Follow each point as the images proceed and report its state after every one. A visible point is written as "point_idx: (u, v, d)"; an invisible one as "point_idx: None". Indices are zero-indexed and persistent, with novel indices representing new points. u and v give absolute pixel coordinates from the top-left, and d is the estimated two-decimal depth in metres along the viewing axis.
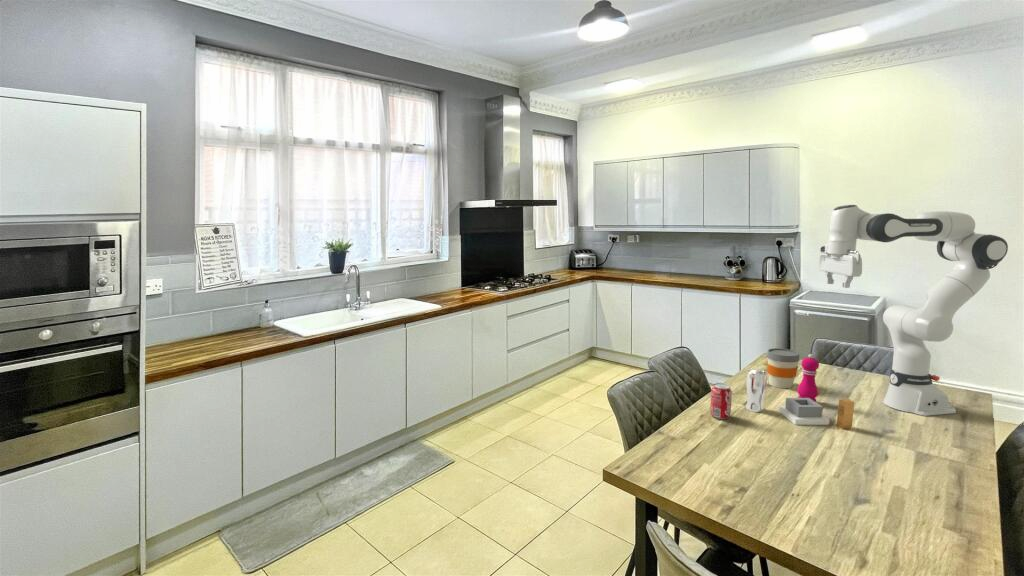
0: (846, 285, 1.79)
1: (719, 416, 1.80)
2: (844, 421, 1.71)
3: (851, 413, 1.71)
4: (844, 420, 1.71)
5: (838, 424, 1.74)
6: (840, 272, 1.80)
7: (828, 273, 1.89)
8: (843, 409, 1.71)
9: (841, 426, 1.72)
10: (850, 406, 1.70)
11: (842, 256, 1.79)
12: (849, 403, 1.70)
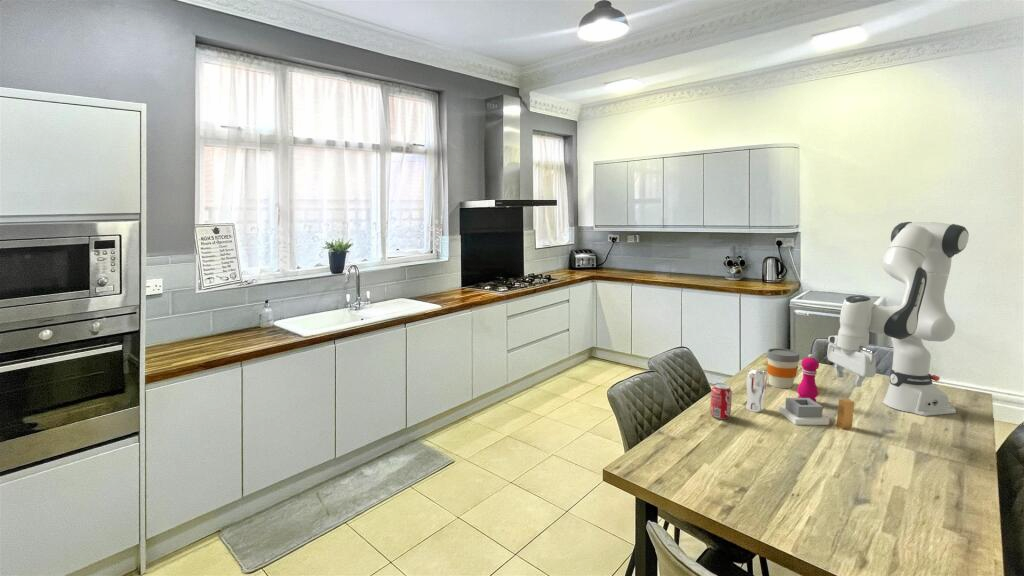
0: (858, 384, 1.65)
1: (719, 416, 1.80)
2: (844, 421, 1.71)
3: (851, 413, 1.71)
4: (844, 420, 1.71)
5: (838, 424, 1.74)
6: (851, 369, 1.66)
7: (838, 365, 1.75)
8: (843, 409, 1.71)
9: (841, 426, 1.72)
10: (850, 406, 1.70)
11: (854, 352, 1.65)
12: (849, 403, 1.70)
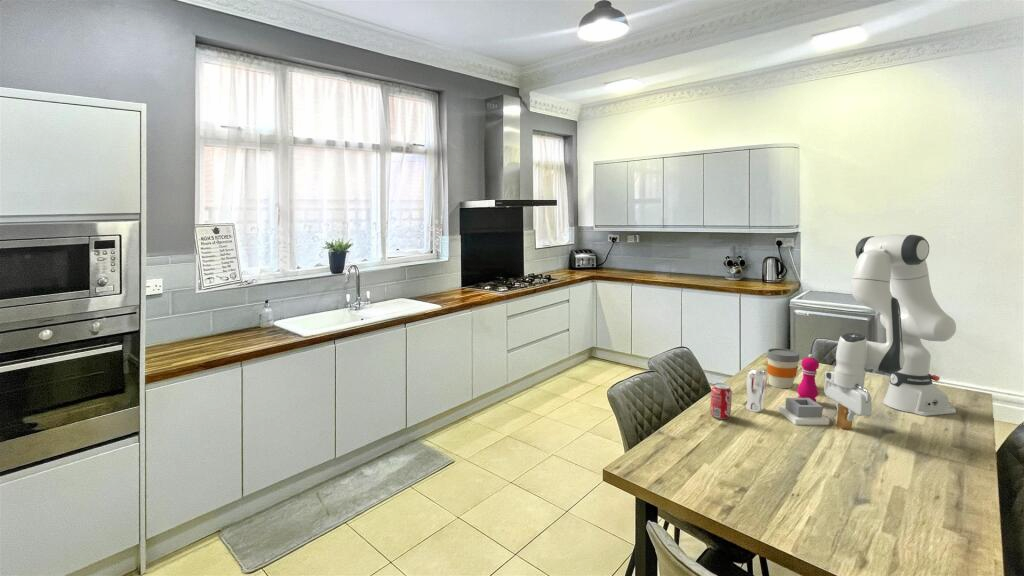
0: (849, 418, 1.70)
1: (719, 416, 1.80)
2: (844, 421, 1.71)
3: None
4: (844, 420, 1.71)
5: (838, 424, 1.74)
6: (848, 406, 1.68)
7: None
8: (843, 409, 1.71)
9: (841, 426, 1.72)
10: None
11: (850, 390, 1.67)
12: None
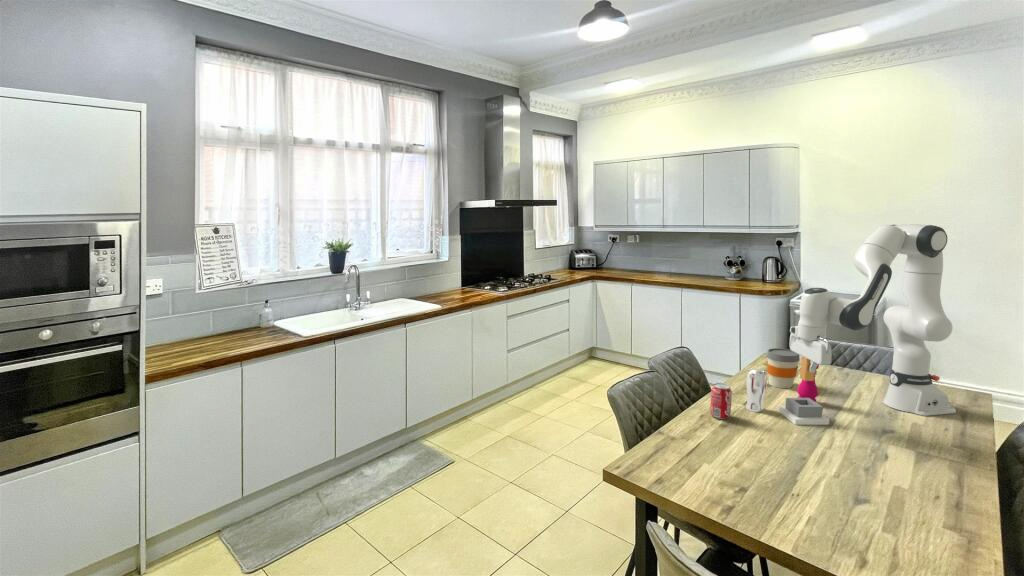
0: (811, 370, 1.75)
1: (719, 416, 1.80)
2: (806, 373, 1.77)
3: None
4: (806, 372, 1.77)
5: (801, 376, 1.79)
6: (810, 358, 1.74)
7: None
8: (806, 361, 1.76)
9: (804, 378, 1.77)
10: None
11: (812, 342, 1.73)
12: None
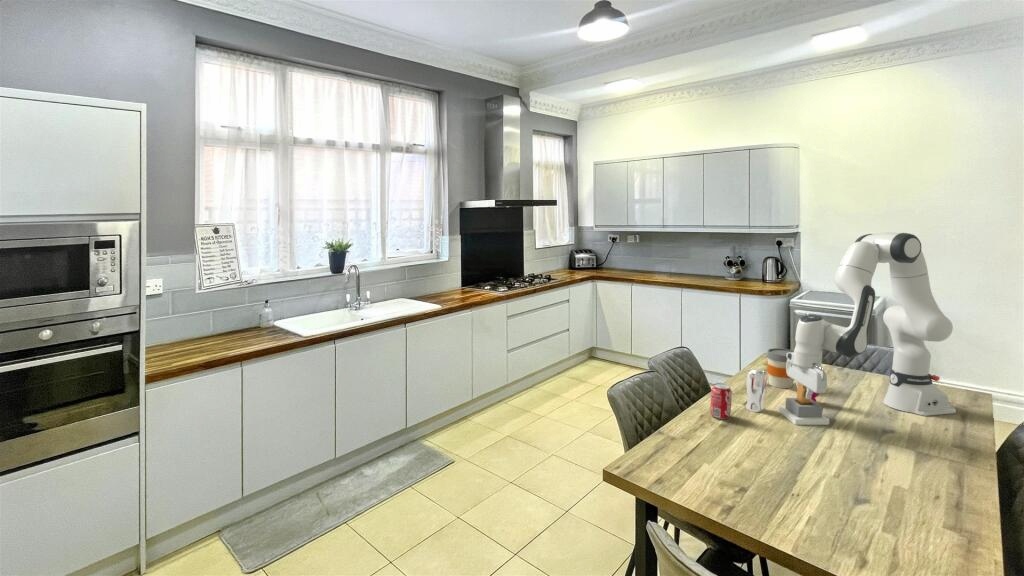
0: (808, 396, 1.77)
1: (719, 416, 1.80)
2: (803, 399, 1.79)
3: None
4: (803, 398, 1.79)
5: (797, 402, 1.81)
6: (806, 385, 1.76)
7: None
8: (802, 388, 1.78)
9: (800, 404, 1.80)
10: None
11: (807, 369, 1.75)
12: None
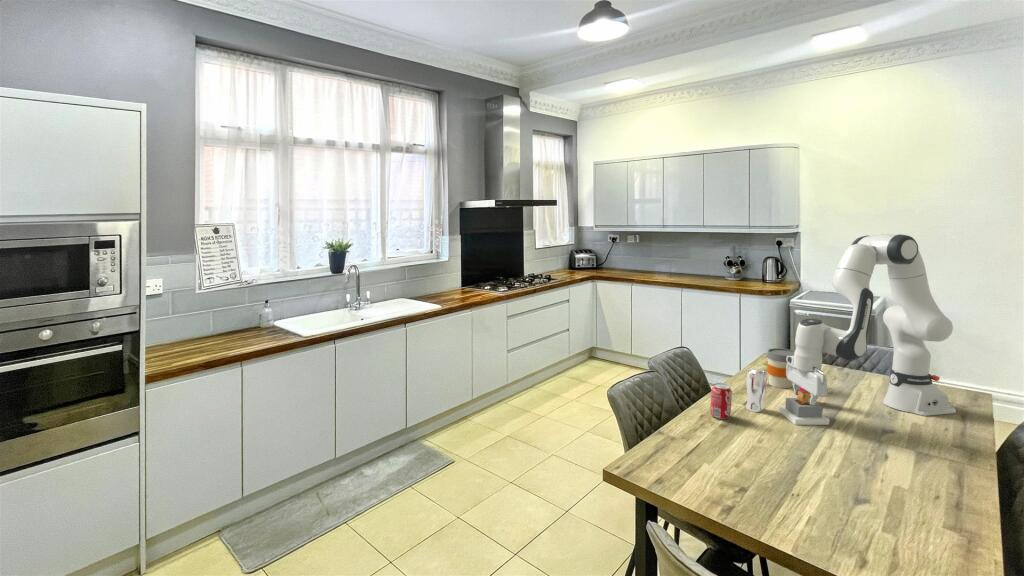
0: (812, 402, 1.75)
1: (719, 416, 1.80)
2: None
3: (809, 404, 1.79)
4: None
5: None
6: (806, 388, 1.76)
7: (795, 384, 1.85)
8: (801, 400, 1.79)
9: None
10: (808, 397, 1.78)
11: (808, 373, 1.75)
12: (807, 394, 1.78)
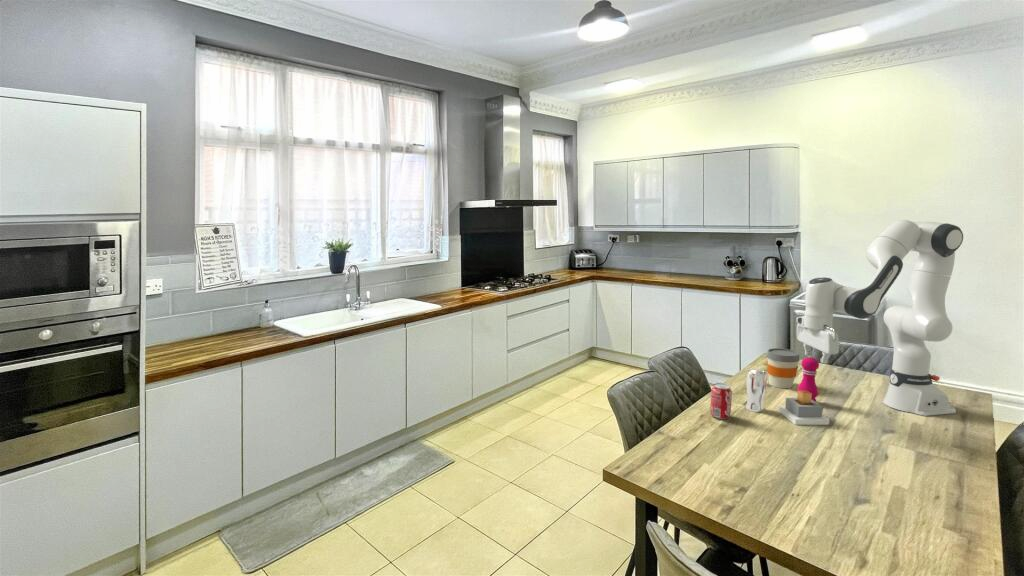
0: (824, 361, 1.74)
1: (719, 416, 1.80)
2: None
3: (809, 404, 1.79)
4: None
5: None
6: (817, 347, 1.75)
7: (806, 345, 1.84)
8: (801, 400, 1.79)
9: None
10: (808, 397, 1.78)
11: (819, 331, 1.74)
12: (807, 394, 1.78)
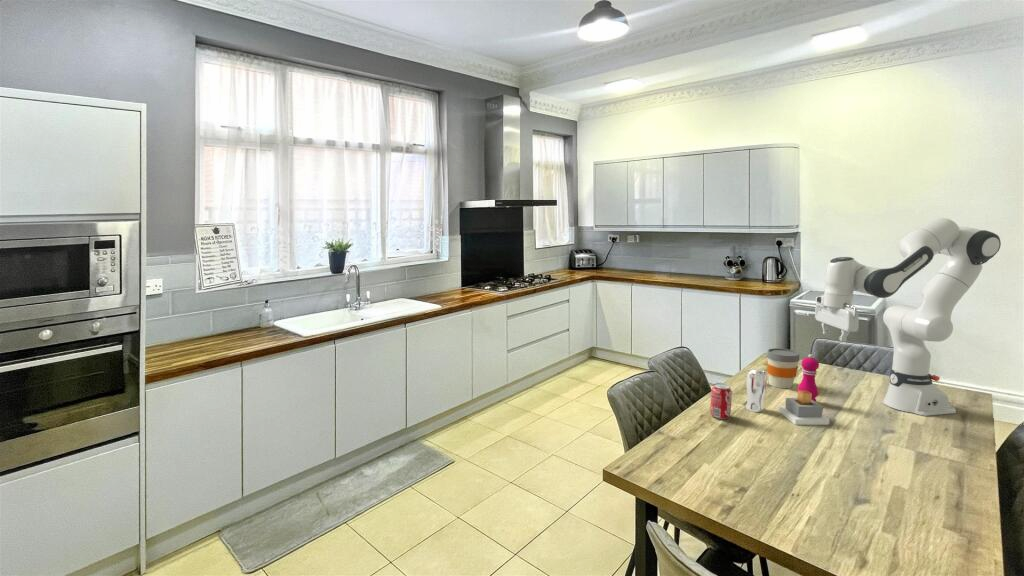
0: (842, 339, 1.76)
1: (719, 416, 1.80)
2: None
3: (809, 404, 1.79)
4: None
5: None
6: (836, 325, 1.77)
7: (824, 324, 1.86)
8: (801, 400, 1.79)
9: None
10: (808, 397, 1.78)
11: (838, 309, 1.76)
12: (807, 394, 1.78)
